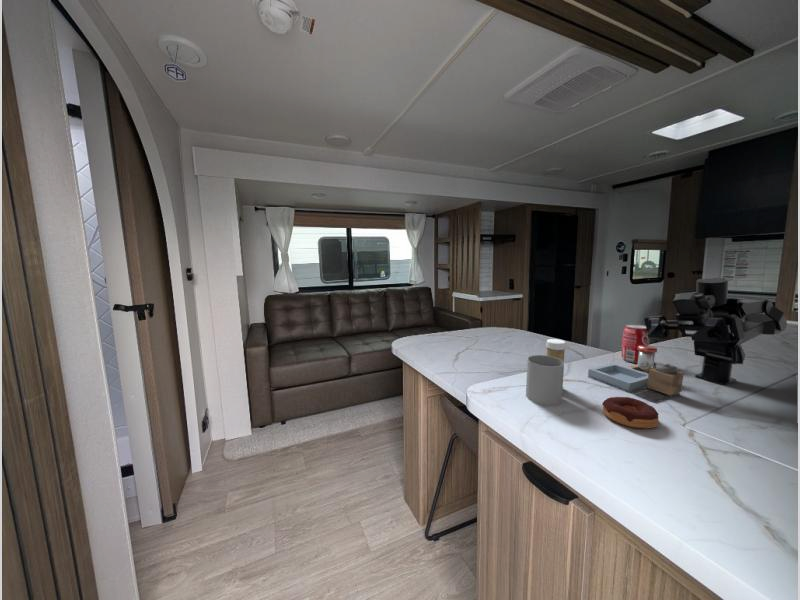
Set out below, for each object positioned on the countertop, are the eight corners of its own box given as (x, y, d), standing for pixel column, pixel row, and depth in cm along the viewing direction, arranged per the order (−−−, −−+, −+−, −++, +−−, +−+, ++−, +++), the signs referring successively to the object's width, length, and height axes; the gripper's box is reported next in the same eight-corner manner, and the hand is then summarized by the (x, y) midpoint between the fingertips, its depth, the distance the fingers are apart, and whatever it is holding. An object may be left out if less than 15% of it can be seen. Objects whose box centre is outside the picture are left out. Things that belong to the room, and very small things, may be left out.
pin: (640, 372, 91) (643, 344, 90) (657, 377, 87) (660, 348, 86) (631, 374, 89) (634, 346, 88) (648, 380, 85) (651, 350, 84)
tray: (612, 370, 93) (613, 363, 92) (654, 384, 82) (655, 376, 82) (588, 376, 88) (588, 368, 88) (628, 392, 78) (629, 383, 78)
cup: (566, 397, 77) (568, 360, 75) (556, 409, 71) (559, 369, 69) (532, 387, 82) (534, 353, 81) (520, 398, 76) (522, 361, 75)
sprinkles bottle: (566, 388, 81) (569, 341, 79) (557, 393, 79) (560, 344, 77) (549, 383, 85) (552, 337, 83) (540, 387, 82) (543, 340, 80)
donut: (643, 410, 70) (645, 394, 69) (669, 435, 60) (672, 417, 60) (594, 406, 72) (596, 390, 71) (612, 429, 63) (614, 411, 62)
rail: (661, 387, 80) (661, 385, 80) (679, 394, 77) (679, 391, 77) (635, 395, 76) (635, 393, 76) (653, 402, 73) (654, 400, 73)
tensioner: (658, 383, 81) (661, 359, 80) (681, 391, 76) (684, 365, 75) (647, 387, 79) (649, 362, 78) (669, 395, 74) (673, 368, 73)
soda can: (645, 359, 102) (648, 325, 100) (648, 365, 96) (652, 329, 94) (619, 355, 106) (622, 322, 104) (621, 361, 100) (624, 327, 98)
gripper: (657, 293, 87) (622, 307, 82) (747, 286, 70) (710, 303, 65) (666, 330, 88) (632, 346, 82) (758, 332, 70) (723, 352, 65)
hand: (669, 337), depth 74 cm, fingers open, 9 cm apart
